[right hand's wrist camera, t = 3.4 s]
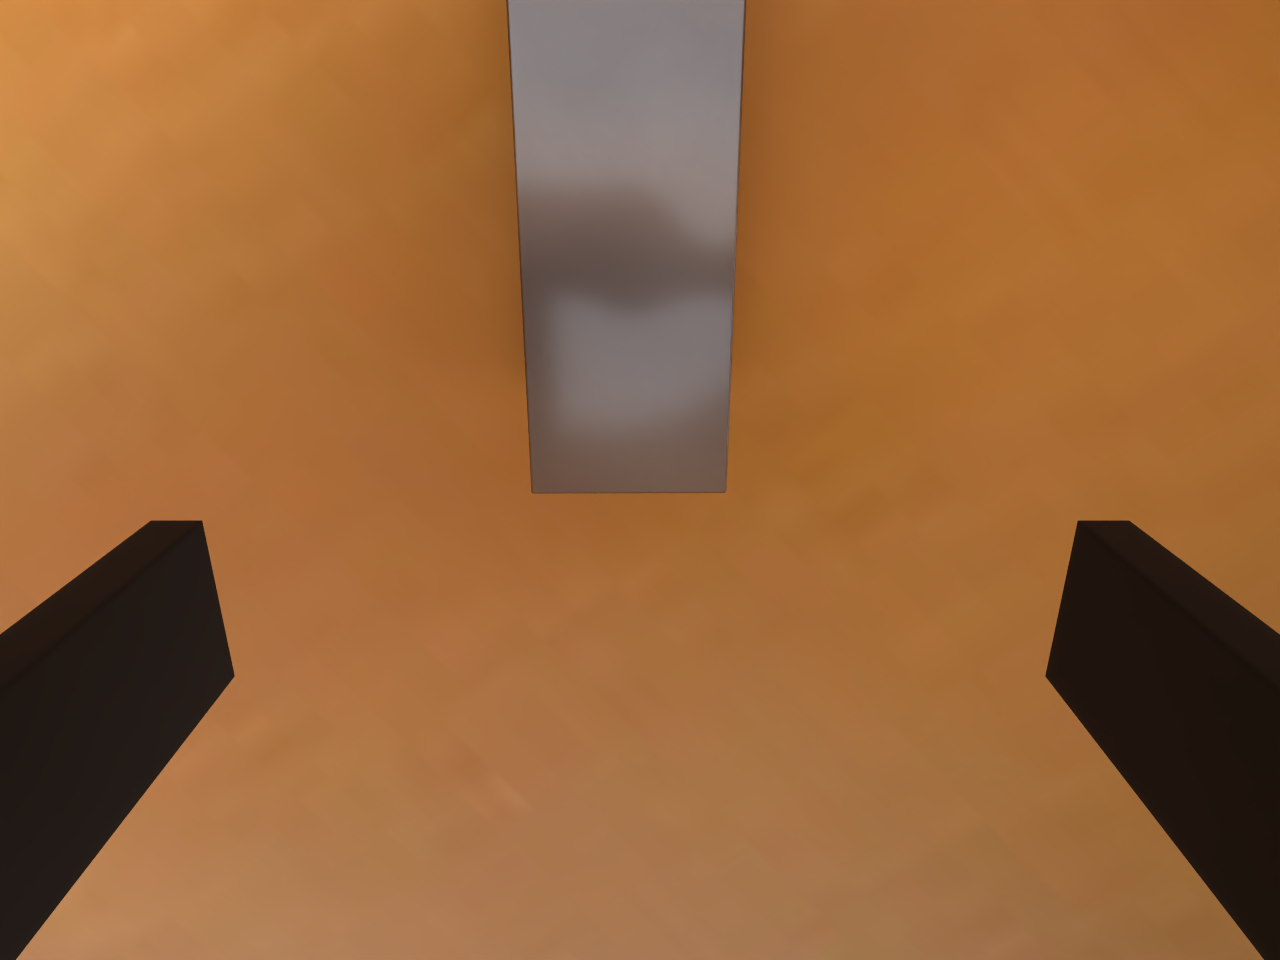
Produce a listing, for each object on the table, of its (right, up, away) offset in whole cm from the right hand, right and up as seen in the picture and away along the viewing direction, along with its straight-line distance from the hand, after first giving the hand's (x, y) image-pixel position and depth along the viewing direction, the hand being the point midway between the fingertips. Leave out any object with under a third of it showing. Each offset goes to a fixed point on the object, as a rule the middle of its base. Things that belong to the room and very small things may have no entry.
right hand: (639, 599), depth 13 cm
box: (0, +17, +21) cm, 27 cm away
